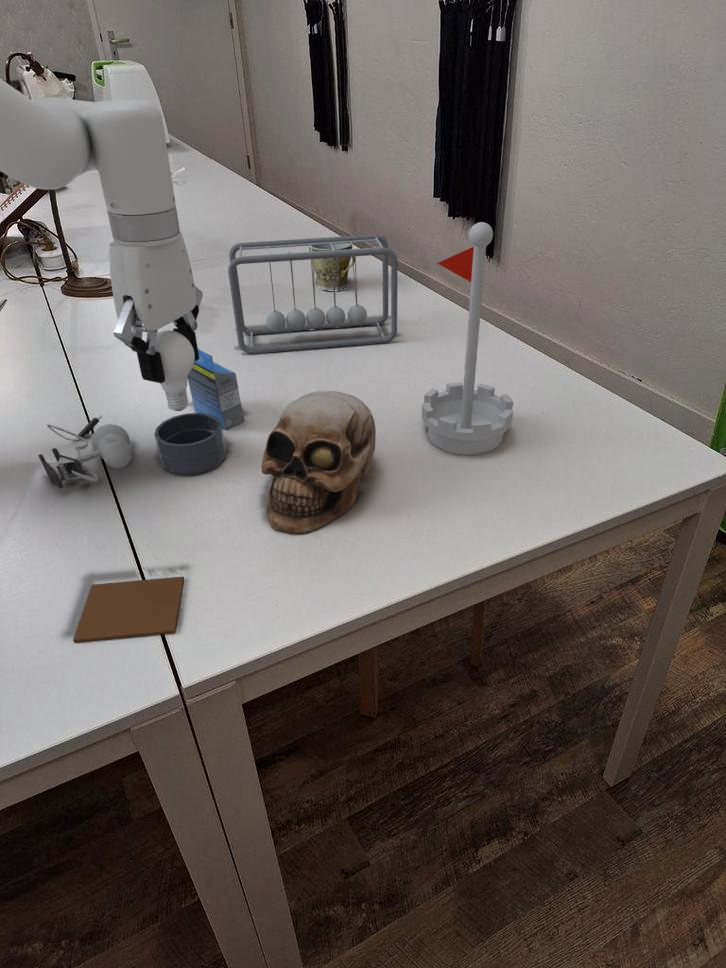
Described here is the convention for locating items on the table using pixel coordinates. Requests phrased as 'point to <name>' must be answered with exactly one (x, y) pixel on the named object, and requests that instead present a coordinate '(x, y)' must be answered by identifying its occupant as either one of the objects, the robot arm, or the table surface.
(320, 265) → the ceramic cup
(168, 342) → the lightbulb
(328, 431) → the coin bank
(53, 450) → the clip-on lamp
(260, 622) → the table surface
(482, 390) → the flag stand
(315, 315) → the newton's cradle
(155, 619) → the mat
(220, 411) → the label tape box
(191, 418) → the basin
